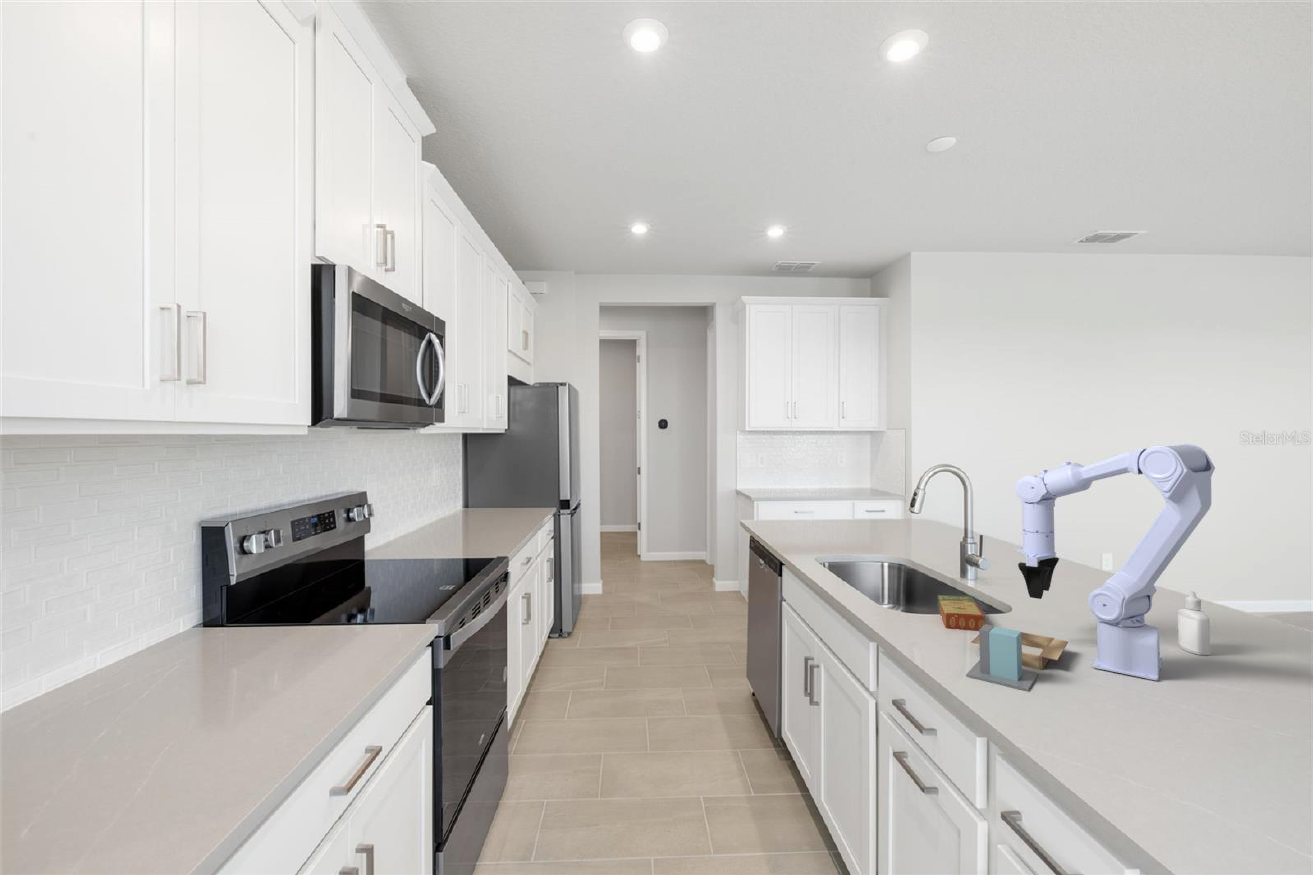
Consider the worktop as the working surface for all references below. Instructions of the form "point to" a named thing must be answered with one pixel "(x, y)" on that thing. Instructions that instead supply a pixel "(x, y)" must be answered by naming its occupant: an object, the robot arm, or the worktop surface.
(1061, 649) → the open carton
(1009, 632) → the capped box
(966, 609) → the carton
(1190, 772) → the worktop surface
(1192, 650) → the eye dropper bottle
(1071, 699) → the worktop surface
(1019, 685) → the slate coaster
